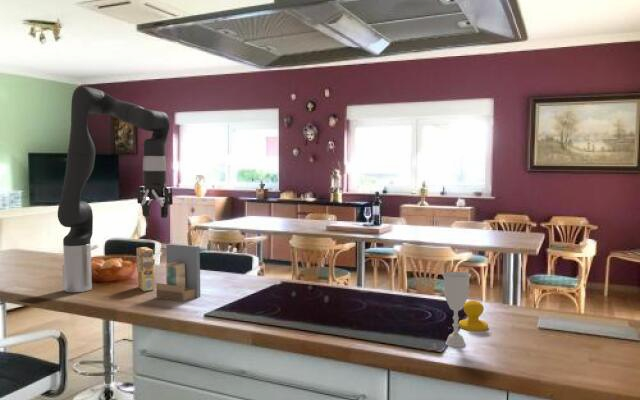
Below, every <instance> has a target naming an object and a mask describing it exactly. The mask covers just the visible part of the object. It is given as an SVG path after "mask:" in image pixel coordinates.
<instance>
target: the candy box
mask: <svg viewBox="0 0 640 400" xmlns="http://www.w3.org/2000/svg"><path fill="white" fill-rule="evenodd" d="M136 267H137V268H136V269H137V288H138V289H140V290H142V292H148V291H154V290H155V273H154V249H152V248H149V247H147V246H142V247H136Z"/></svg>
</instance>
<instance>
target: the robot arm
mask: <svg viewBox="0 0 640 400" xmlns="http://www.w3.org/2000/svg"><path fill="white" fill-rule="evenodd" d="M70 105H71V108H70V110H71V112H70V130H69V131H70V134H69V142H68V148H67V154H66V155H67V156H66V165H65V172H64V173H65V174H64V179H63V186H62V192H61V195H60V199H59V203H58V208H57V219H58V221H59V224H60V225H61V226H62V227H65V228H70V229H69V232H68V233H67V235H65V236H64V237H63V239H62V241H63V242H62V246H63V247H62V248H63V250H62V251H63V265H62V287H63V289H62V290H63V291H65V292H66V293H83V292H87V291H91V290H92V289H93V285H92V284H93V283H92V252H91V249H92V247H91V246H92V245H91V240H92V239H91V238H93V237H92V236H93V232H94V231H93V228H94V227H93V226H94V216H93V209H92V207H91V205H90V204H89V202H86V201H83V200H81V197H82V196H81V195H82V192H83V188H84V186H85V184H86V183H87V181H88V179H89V178H90V176H91V175H92V172H93V171H94V168H95V167H94V166H95V160H96V146H95V143H94V141H93V139H92V137H91V136H92V135H91V134H90V132H89V127H88V121H89V120H88V119H89V115H90V114H91V115H108V116H112V117H115V118H116V119H117V120H119V121H121V122H122V123H126V124H129V125H132V126H135V128H136V127H137V128H138V129H140V130H142V131H147V132H152V135H151V137H150V138H146V139H144V140H143V158H142V182H143V184H144V185H139V186H137V201H136V202H137V204H140V205H141V206H142V208H141V209H142V211H141V212H142V216H143V217H144V218H145V217H149V216H150V205H149V204H150V203H151V201H153V200H156V201H157V202H158V203H159V205H160V218H161V219H166V218H167V217H168V215H169V213H168V212H169V210H168V209H169V206H172V205H173V204H174V203H173V188H172V186H165V184H167V161H166V143H167V139H168V135H169V131H170V126H171V125H170V124H171V121H170V117H169V116H168V114H167V113H166V112H165V111H160V110H153V109H152V110H151V109H146V108H144V107H143V106H141V105H139V104H135V103H132V102H129V101H125V100H121V99H117V98H115V97H113V96H111V95H109V94H108V93H106V92H105V91H103V90H100V89H97V88H94V87H88V86H85V85H84V86H83V85H79V86H78V87H76V88H75V89H74V91H73V92H72V97H71V104H70Z"/></svg>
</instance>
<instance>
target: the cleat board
mask: <svg viewBox="0 0 640 400" xmlns="http://www.w3.org/2000/svg"><path fill="white" fill-rule="evenodd" d="M200 247H201V246H199V245H187V244H179V243H178V244H176V243H167V244H166V251H165V252H166V264H168V263H173V262H177V263H185V289H184V286H176V285H168V284H166V283H161V282H159V283H158V282H157V283H155V285H156V287H155V288H156V289H155V290H156V298H157V299H164V300H170V301H177V302H185V301H189V300H192V299H195V298H196V299H199V298H201V258H200V256H201V254H200V253H201V251H200V250H201V249H200Z"/></svg>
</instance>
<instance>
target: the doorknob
mask: <svg viewBox="0 0 640 400" xmlns="http://www.w3.org/2000/svg"><path fill="white" fill-rule="evenodd" d="M484 308H485V307H484V304H483V303H481V302H480V301H477V300H473V299H472V300H468V301H466V302H465V304H464V306H463V308H462V310H463V312H464V313H465V314H466V315H467V318H465V319H461V320H458V324H459V325H460V326H459V327H458V328H461V329H462V330H466V331H472V332H481V331H486V330H488V329H489V323H488V322H487V321H484V320H482V319H479V318H480V317H481V315H482V314H483V313H484V310H485V309H484Z"/></svg>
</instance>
